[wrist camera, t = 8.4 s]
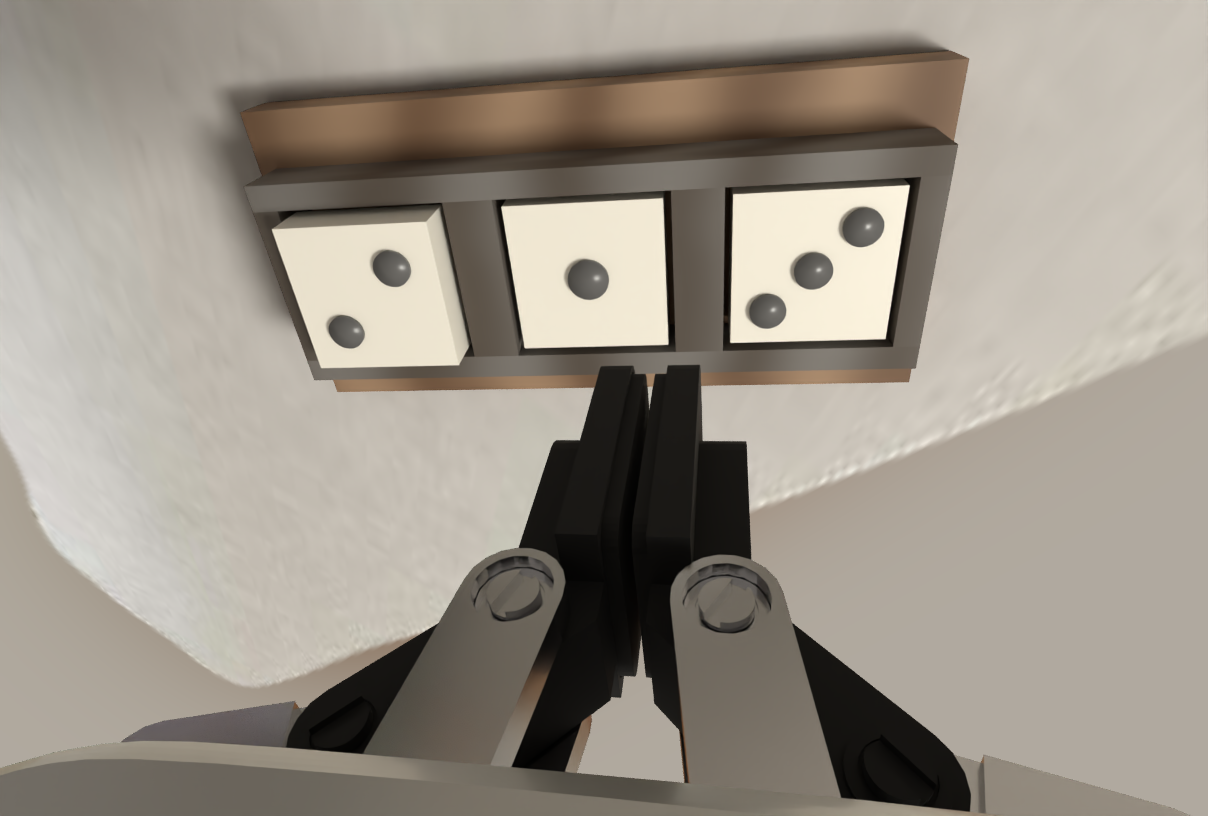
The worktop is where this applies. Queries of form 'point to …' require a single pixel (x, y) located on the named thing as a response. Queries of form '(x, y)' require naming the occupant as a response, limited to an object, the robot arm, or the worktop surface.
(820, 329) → the three-dot button
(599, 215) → the one-dot button
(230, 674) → the worktop surface
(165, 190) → the worktop surface
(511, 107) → the button panel
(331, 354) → the two-dot button
